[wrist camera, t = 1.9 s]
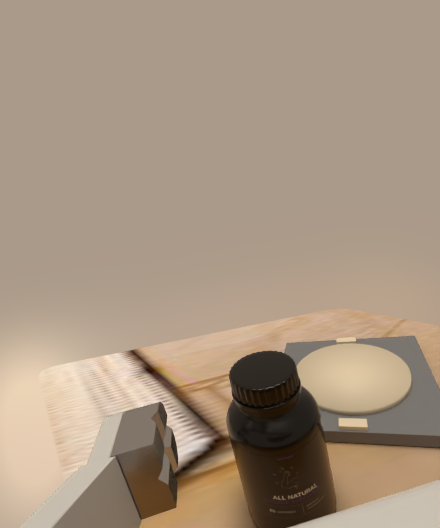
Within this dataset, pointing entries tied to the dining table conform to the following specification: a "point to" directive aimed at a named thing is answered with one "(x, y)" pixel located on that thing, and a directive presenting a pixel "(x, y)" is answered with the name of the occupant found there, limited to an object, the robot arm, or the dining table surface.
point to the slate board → (371, 390)
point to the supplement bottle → (278, 442)
